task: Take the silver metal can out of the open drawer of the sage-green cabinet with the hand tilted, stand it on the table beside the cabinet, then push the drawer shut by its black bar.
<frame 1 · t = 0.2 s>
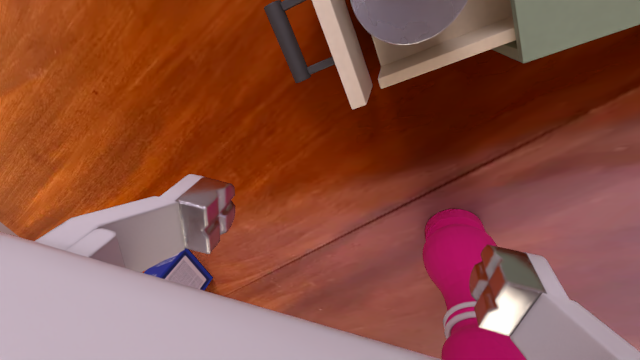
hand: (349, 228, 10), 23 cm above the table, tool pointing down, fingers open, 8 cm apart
milk carton: (186, 267, 50), on the table
pepper mill: (453, 229, 36), on the table
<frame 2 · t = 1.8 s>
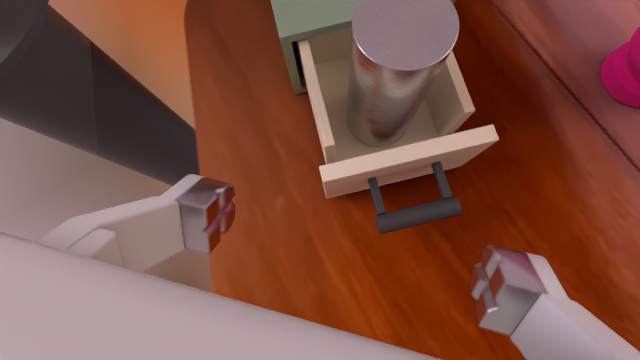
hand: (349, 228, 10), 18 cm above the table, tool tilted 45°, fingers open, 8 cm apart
can: (377, 118, 28), point 2 cm above the table, touching drawer
drawer: (385, 120, 26), point 4 cm above the table, slide at 10.0 cm, touching can
cabinet: (343, 19, 33), on the table
pepper mill: (632, 79, 30), on the table
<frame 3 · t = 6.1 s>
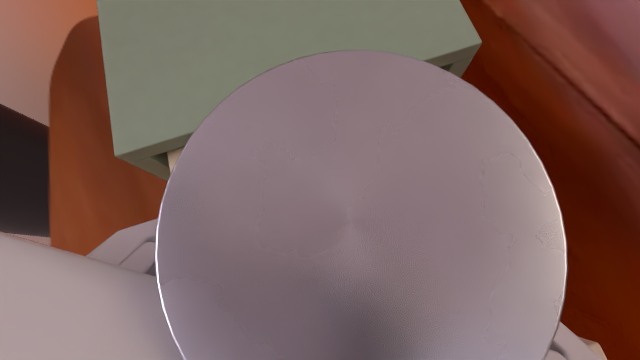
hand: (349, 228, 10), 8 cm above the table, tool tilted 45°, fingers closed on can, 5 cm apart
can: (345, 254, 16), point 2 cm above the table, touching drawer, gripper
drawer: (355, 281, 13), point 4 cm above the table, slide at 10.0 cm, touching can
cabinet: (288, 74, 21), on the table
when the fingers open (6 cm above the table, at t = 16.5 s): can stays where it is, on the table.
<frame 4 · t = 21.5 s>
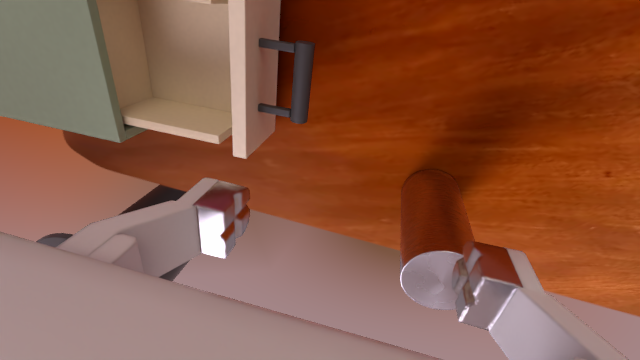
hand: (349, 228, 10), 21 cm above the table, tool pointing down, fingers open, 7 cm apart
can: (429, 193, 32), on the table
drawer: (211, 65, 26), point 4 cm above the table, slide at 10.0 cm
cabinet: (108, 36, 32), on the table
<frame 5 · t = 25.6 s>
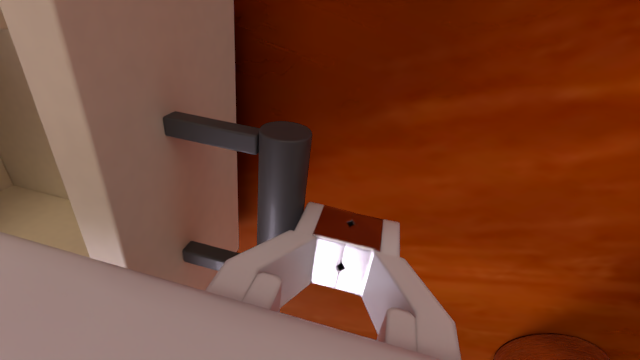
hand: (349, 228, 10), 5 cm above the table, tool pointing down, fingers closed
drawer: (80, 155, 12), point 4 cm above the table, slide at 8.6 cm, touching gripper
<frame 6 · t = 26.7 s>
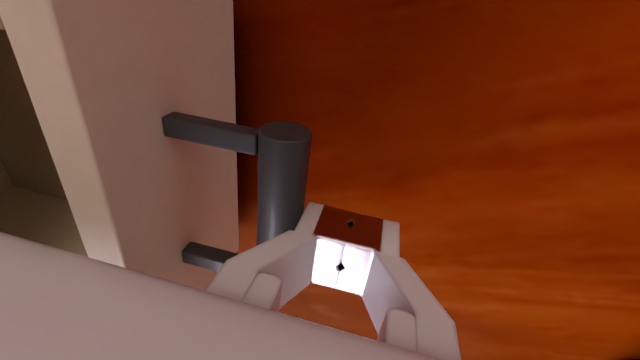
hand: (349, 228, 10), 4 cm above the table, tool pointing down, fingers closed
drawer: (79, 156, 12), point 4 cm above the table, slide at 4.2 cm, touching gripper
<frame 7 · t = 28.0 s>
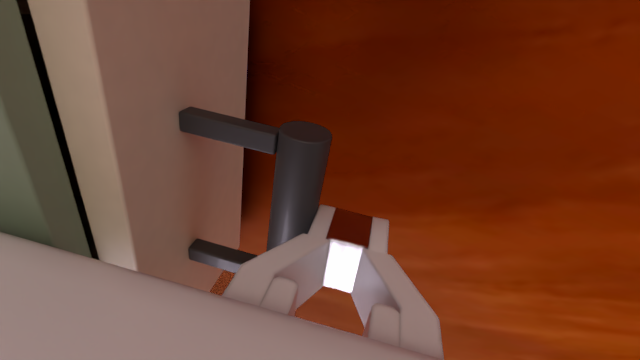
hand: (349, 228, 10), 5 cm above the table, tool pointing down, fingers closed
drawer: (84, 147, 11), point 4 cm above the table, slide at 0.0 cm, touching cabinet, gripper
cabinet: (90, 95, 15), on the table
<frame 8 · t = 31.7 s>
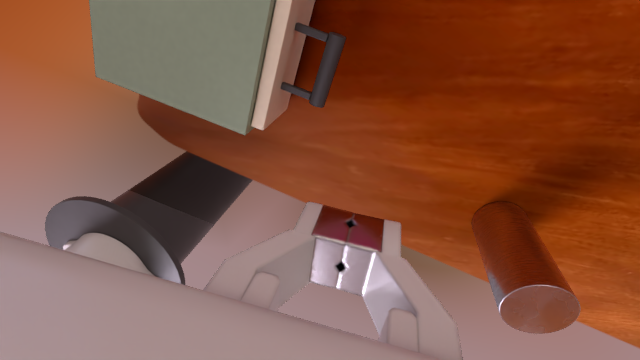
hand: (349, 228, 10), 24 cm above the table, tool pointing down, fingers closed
can: (498, 222, 35), on the table
drawer: (243, 37, 27), point 4 cm above the table, slide at 0.0 cm, touching cabinet
cabinet: (226, 20, 31), on the table
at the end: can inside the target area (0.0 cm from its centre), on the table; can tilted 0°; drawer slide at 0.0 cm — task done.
